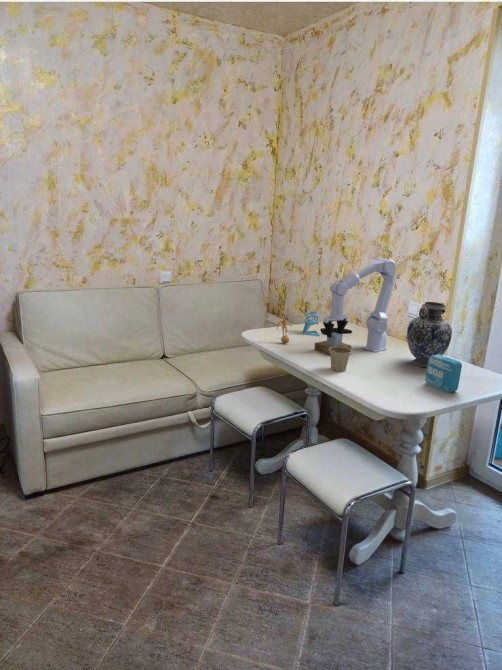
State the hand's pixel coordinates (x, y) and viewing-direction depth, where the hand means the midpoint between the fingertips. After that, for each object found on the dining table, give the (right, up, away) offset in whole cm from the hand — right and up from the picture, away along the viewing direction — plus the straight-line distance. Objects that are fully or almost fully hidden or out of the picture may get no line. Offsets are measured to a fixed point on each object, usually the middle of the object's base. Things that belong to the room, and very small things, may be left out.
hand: (334, 336), depth 226 cm
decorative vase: (+39, -13, -10) cm, 42 cm away
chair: (-7, +1, +31) cm, 32 cm away
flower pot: (-2, -14, -23) cm, 27 cm away
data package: (+35, -20, -38) cm, 56 cm away
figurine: (-23, -4, +11) cm, 26 cm away
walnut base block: (-1, -8, +2) cm, 8 cm away
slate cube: (0, -4, +1) cm, 4 cm away
